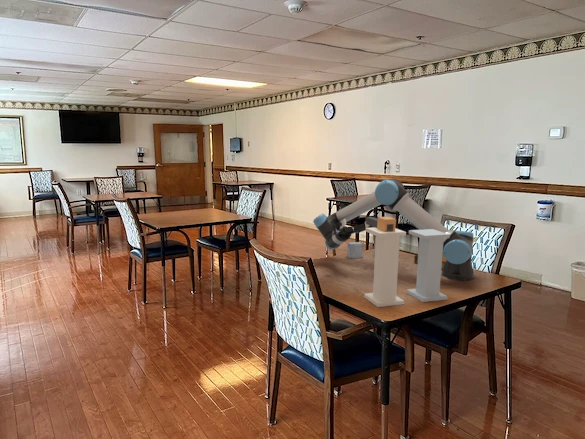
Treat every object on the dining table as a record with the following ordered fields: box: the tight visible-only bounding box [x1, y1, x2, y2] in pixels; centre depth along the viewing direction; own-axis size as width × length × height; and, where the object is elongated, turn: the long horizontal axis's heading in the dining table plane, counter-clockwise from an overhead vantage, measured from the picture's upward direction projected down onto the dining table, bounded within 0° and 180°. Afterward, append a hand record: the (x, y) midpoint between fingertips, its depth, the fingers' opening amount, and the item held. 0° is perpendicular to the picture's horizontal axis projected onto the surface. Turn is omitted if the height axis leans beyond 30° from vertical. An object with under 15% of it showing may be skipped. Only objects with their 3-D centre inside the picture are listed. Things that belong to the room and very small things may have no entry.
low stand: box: [406, 229, 450, 303], centre depth 186 cm, size 12×14×28 cm
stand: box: [363, 226, 407, 308], centre depth 179 cm, size 12×14×30 cm
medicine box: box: [346, 241, 364, 259], centre depth 250 cm, size 8×4×9 cm, turn 104°
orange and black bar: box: [365, 216, 397, 232], centre depth 182 cm, size 5×18×5 cm, turn 18°
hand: (358, 220), depth 201 cm, fingers open, 13 cm apart
